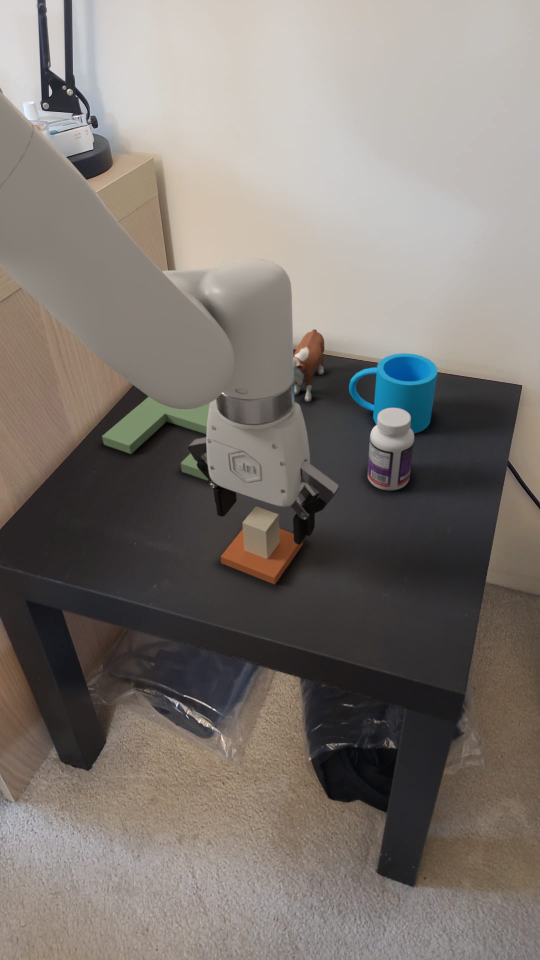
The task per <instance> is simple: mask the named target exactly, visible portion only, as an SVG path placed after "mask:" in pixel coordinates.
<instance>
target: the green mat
mask: <svg viewBox="0 0 540 960" xmlns="http://www.w3.org/2000/svg"><path fill="white" fill-rule="evenodd" d="M209 405H210V403H209V404H207V405H205V406H202V407H199V408H193V409H176V408H172V407H168V406H165V405H163V404H160V403H158V402H157V401H155V400H153V399H152V398H150V397H149V396H147V397H146V398H145V399H144V400H143V401H141V403H139V404H137V406H136V407H134V409H132V410H131V411H130V412H129V413H127V414H126V415H125V416H124V417H123V418H121V419H120V420H119V421H118V422H117V423H116V424H114V426H112V427H111V428H110V429H109V430H107V431H106V432H104V434H102V436H101V438H102V443H103V445H104V446H107V447H109V448H112V449H116V450H118V451H121V452H124V453H126V454H130V455H133V454H134V452H135V451H136V450H137V449H138V448H140V446H142V445H143V444H144V443H145V442H146V441H147V440H149V438H150V437H152V436H153V435H154V434H155V433H156V432H157V431H159V429H160V428H161V427H163V425H165V424H166V423H169V424H173V425H175V426H179V427H182V428H185V429H189V430H192V431H195V432H198V433H201V434H204V435H206V433H207V420H208V412H209ZM180 468H181V472H182V473H184V474H187V475H190V476H193V477H195V478H199V479H201V480H204V481H206V482H207V481H208V478H207V477H206V476H205V475H204V474H203V473H202V472H201V471H200V470H199V469H198V467H197V461H195V459H194V458H193V456H192V454H191V453H190V452H189V454H188V455H187V456H186V457H185V458H184V459H183V460H182V461H181V462H180Z"/></svg>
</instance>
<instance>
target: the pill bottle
mask: <svg viewBox="0 0 540 960" xmlns="http://www.w3.org/2000/svg"><path fill="white" fill-rule="evenodd" d="M410 425H411V416H410V414H409V413H408V412H407V411H405V410H403V409H399V408H387V409H384V410H382V411H380V412H379V414H378V418H377V424H375V425H374V426H373V428H372V429H371V431H370V436H369V446H368V447H369V450H368V461H367V479H368V481H369V482H370V484H371V485H372V486H374V487H375V488H377V489H380V490H383V491H397V490H400V489H403V488H404V487H405V486H406V485H407V484H408V483H409V481H410V475H411V469H412V461H413V453H414V445H415V434H414V433H413V431H412V429H411V428H410Z"/></svg>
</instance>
